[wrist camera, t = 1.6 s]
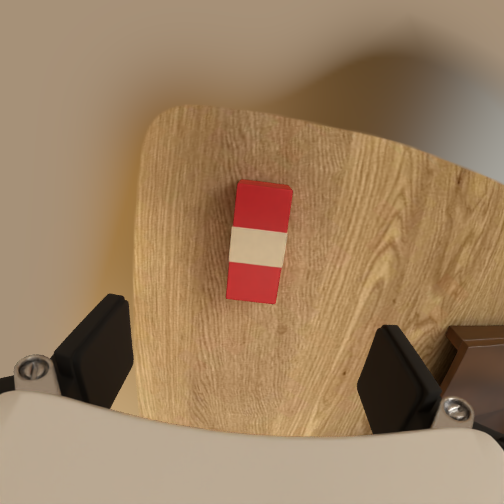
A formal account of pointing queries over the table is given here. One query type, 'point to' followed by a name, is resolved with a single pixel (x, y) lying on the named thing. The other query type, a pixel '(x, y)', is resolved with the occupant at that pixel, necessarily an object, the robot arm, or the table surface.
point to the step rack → (478, 372)
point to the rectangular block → (258, 240)
